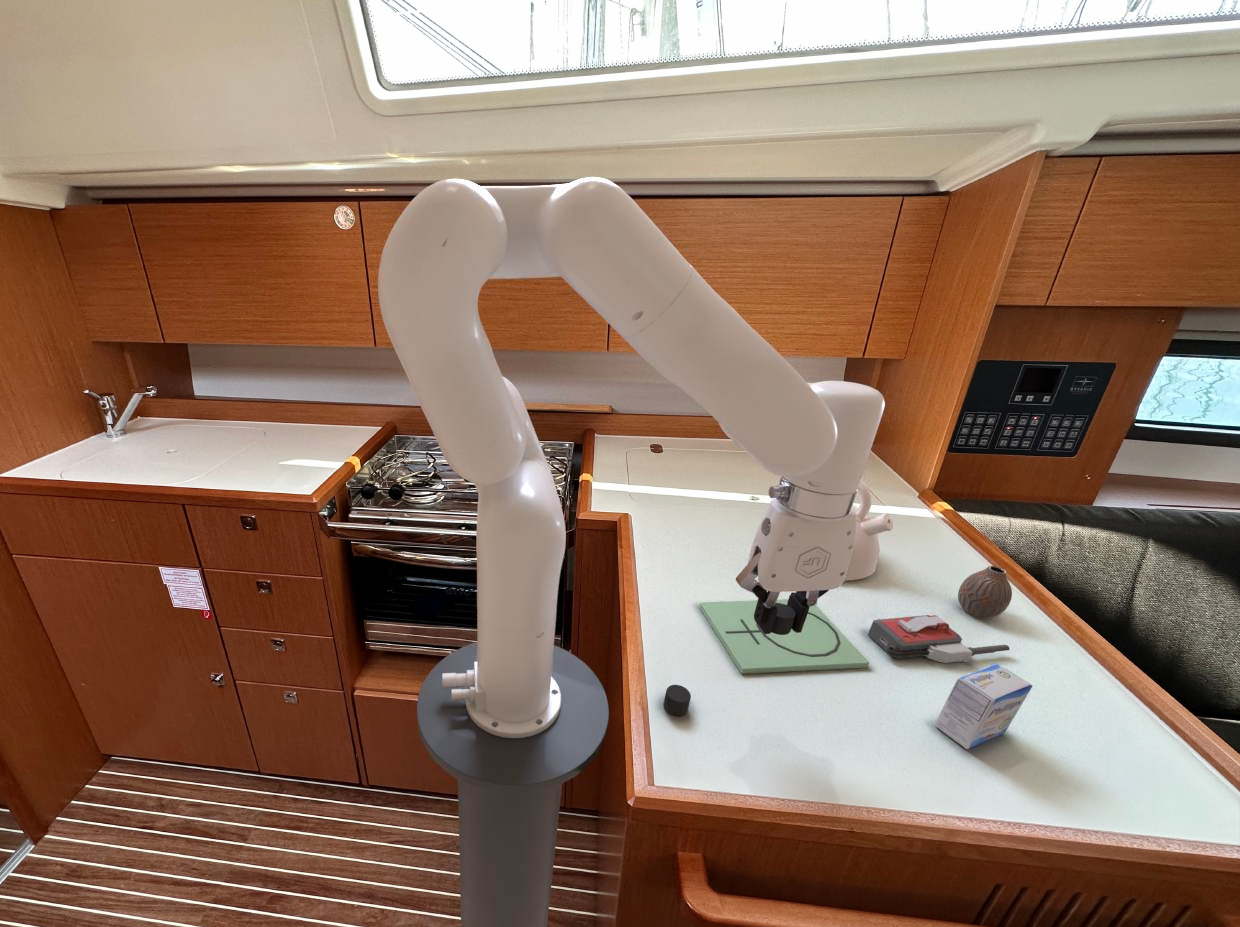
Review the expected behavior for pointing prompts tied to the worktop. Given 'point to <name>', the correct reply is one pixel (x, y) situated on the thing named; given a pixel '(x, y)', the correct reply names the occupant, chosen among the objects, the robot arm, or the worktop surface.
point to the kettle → (866, 538)
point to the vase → (985, 593)
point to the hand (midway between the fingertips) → (777, 625)
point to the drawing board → (780, 641)
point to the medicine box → (982, 705)
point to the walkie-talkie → (924, 639)
